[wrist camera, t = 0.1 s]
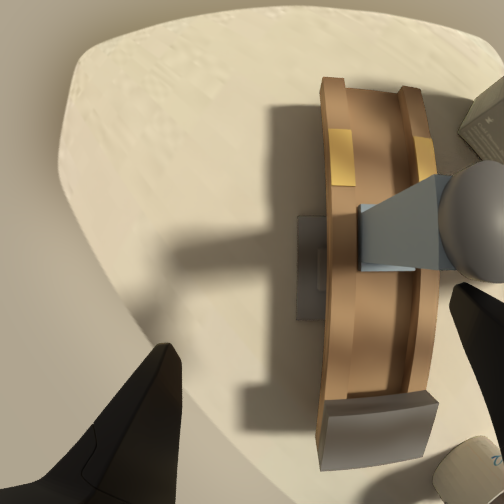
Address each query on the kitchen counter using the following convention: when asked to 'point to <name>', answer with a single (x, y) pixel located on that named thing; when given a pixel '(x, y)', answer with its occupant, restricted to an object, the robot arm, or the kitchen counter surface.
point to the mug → (471, 474)
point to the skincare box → (486, 124)
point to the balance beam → (368, 284)
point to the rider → (439, 226)
